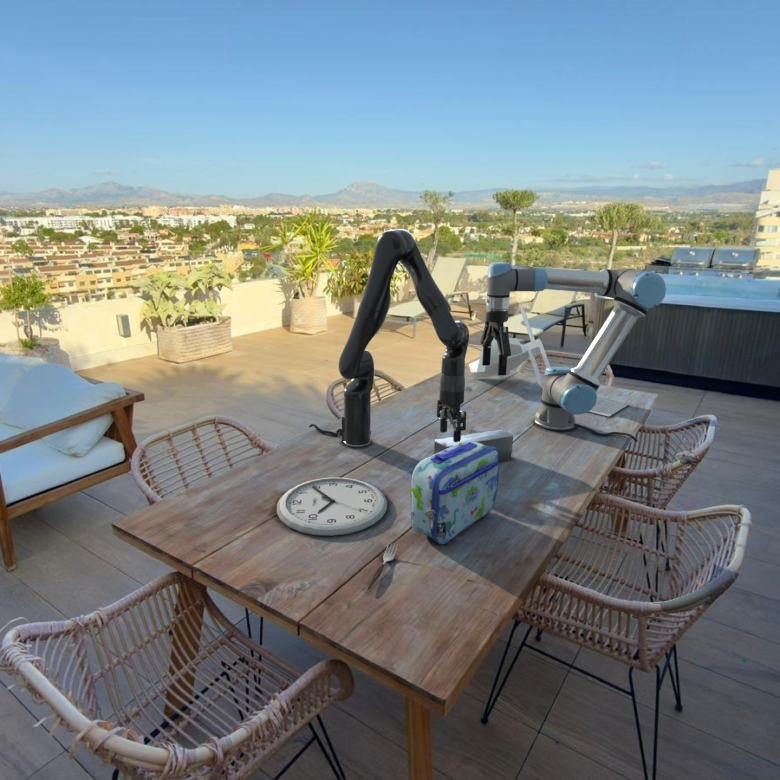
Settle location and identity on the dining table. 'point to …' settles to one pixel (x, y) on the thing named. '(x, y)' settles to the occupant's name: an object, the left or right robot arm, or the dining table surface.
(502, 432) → the box
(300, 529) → the wall clock
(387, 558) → the fork
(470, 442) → the lunch box
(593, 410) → the invitation card
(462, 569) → the dining table surface
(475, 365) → the white plastic object
